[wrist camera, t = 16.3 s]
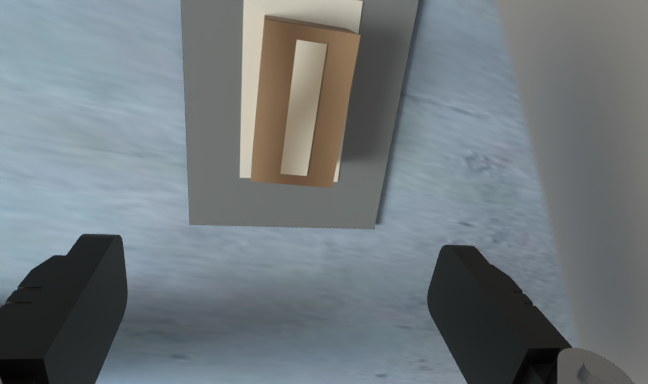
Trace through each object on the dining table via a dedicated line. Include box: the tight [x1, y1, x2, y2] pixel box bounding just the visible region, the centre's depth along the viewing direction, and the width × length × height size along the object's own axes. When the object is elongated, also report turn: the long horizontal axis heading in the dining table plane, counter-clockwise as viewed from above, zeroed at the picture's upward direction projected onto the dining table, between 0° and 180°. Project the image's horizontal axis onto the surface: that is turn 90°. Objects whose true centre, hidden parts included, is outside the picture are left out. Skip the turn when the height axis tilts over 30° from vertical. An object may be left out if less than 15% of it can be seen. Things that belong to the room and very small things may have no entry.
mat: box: [181, 0, 419, 229], centre depth 26 cm, size 20×14×1 cm
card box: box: [251, 15, 361, 188], centre depth 24 cm, size 5×9×4 cm, turn 171°
